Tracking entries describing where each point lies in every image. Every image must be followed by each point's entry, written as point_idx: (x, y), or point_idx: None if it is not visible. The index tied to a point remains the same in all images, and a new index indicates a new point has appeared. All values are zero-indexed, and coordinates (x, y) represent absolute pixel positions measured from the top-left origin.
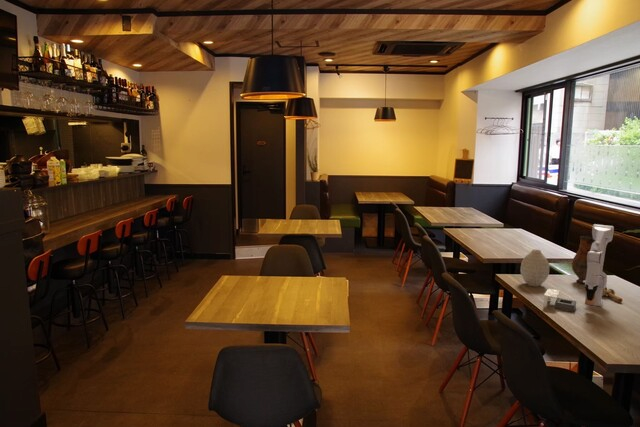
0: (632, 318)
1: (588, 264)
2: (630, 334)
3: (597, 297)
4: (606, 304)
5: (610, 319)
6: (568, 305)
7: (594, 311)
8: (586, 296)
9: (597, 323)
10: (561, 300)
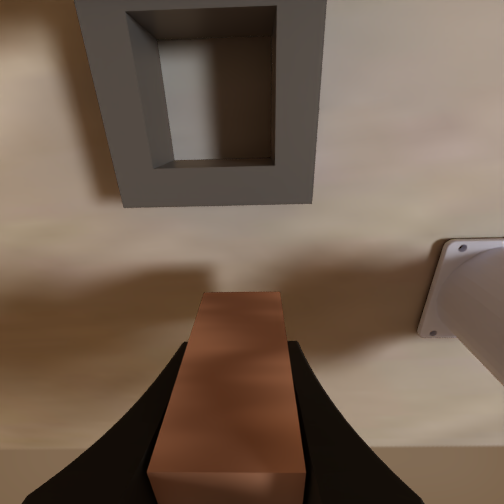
0: None
1: None
2: (29, 440)
3: (481, 358)
4: None
5: None
6: (113, 146)
7: None
8: (186, 359)
9: (42, 337)
10: (276, 25)
